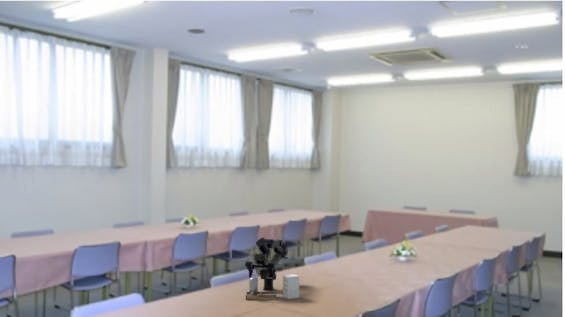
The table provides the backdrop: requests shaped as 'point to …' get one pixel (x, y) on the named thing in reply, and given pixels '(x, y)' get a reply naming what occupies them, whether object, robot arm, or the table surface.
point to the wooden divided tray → (261, 296)
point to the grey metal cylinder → (253, 286)
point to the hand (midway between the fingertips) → (256, 278)
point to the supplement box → (291, 286)
